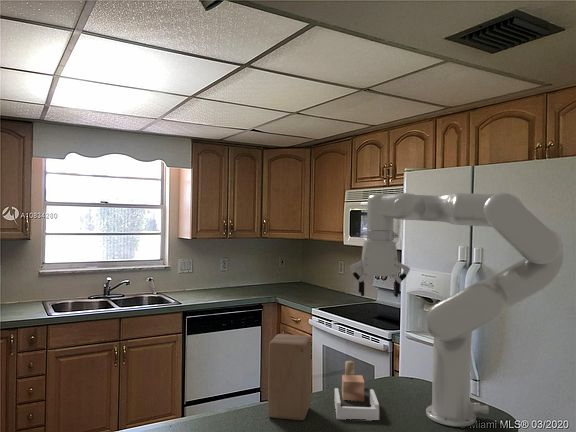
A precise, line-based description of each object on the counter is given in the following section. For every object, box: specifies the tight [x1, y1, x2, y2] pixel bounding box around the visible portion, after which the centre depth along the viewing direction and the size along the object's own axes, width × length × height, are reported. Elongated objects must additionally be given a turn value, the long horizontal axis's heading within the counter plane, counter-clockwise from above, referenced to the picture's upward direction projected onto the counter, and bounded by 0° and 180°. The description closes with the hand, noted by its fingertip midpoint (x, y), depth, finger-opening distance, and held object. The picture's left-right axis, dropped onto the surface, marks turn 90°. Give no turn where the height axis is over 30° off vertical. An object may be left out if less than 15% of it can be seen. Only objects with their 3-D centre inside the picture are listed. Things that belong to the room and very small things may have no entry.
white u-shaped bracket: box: [333, 387, 380, 421], centre depth 129 cm, size 11×12×4 cm
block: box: [341, 360, 365, 402], centre depth 144 cm, size 6×15×7 cm, turn 178°
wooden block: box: [267, 333, 312, 421], centre depth 127 cm, size 10×10×20 cm
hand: (379, 295), depth 137 cm, fingers open, 9 cm apart
